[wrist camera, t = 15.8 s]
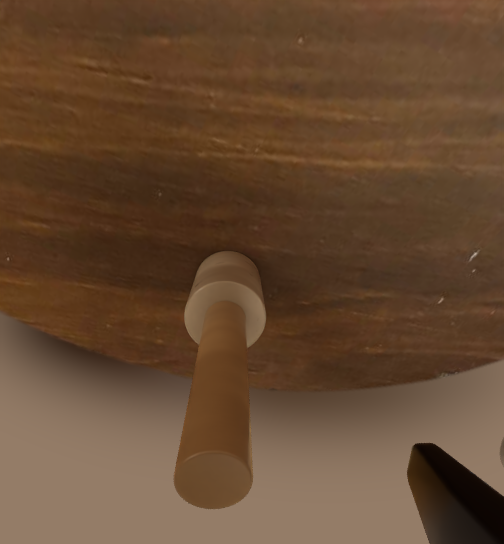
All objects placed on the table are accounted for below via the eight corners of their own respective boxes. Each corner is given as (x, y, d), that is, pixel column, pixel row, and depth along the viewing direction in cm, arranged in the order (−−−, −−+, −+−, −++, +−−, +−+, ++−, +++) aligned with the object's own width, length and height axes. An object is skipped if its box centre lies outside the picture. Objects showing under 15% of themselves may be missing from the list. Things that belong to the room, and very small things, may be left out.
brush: (270, 264, 17) (318, 445, 7) (246, 318, 18) (256, 549, 8) (208, 240, 17) (159, 398, 6) (187, 298, 18) (114, 516, 7)
